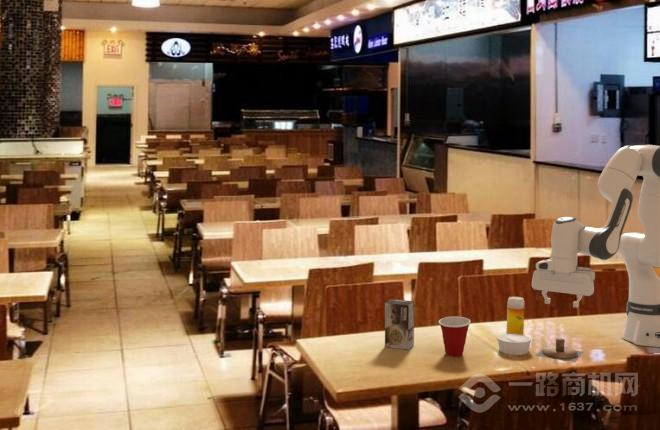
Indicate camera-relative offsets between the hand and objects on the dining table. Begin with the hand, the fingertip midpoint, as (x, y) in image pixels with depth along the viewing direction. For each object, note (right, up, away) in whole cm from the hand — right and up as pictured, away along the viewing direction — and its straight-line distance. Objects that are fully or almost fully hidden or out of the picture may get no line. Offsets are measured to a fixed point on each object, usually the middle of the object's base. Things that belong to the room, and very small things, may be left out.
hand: (561, 305), depth 260 cm
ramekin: (-15, -17, +5) cm, 23 cm away
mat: (0, -17, +2) cm, 18 cm away
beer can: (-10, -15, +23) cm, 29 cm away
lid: (0, -17, +2) cm, 17 cm away
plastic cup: (-36, -17, +2) cm, 40 cm away
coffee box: (-54, -16, +11) cm, 58 cm away
